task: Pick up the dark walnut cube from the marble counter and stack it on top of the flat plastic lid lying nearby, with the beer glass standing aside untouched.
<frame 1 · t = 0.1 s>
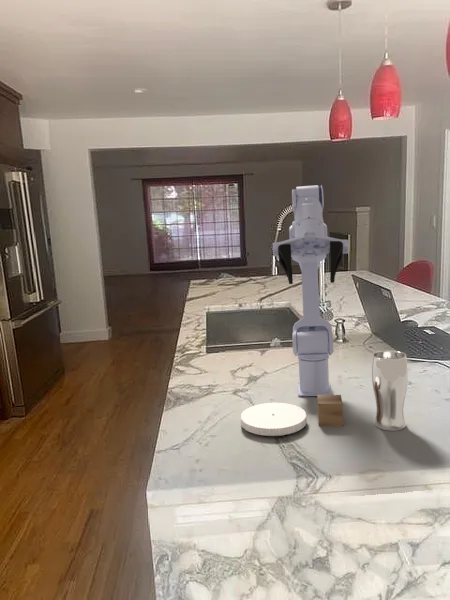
hand: (311, 279, 92), 32 cm above the countertop, tool tilted 50°, fingers open, 7 cm apart
walnut cube: (330, 421, 107), on the countertop
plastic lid: (273, 426, 107), on the countertop
beer glass: (390, 425, 103), on the countertop
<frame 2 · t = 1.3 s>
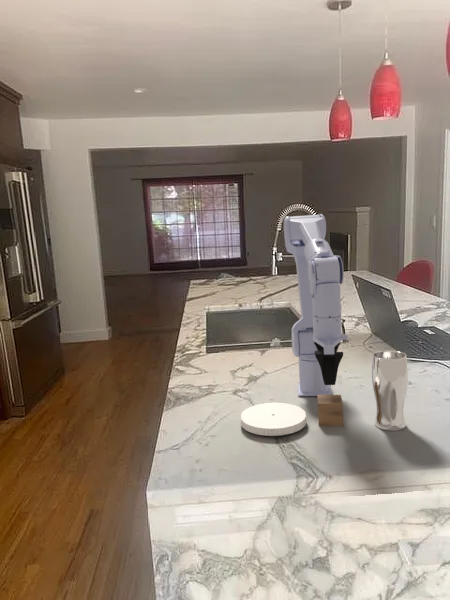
hand: (328, 378, 105), 9 cm above the countertop, tool pointing down, fingers open, 7 cm apart
nothing on the countertop moved.
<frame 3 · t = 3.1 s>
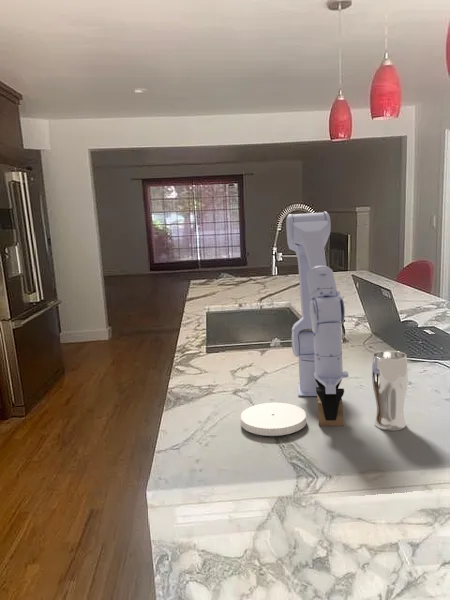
hand: (330, 414, 106), 1 cm above the countertop, tool pointing down, fingers closed on walnut cube, 5 cm apart
walnut cube: (330, 420, 107), on the countertop, touching gripper
everything else where it was.
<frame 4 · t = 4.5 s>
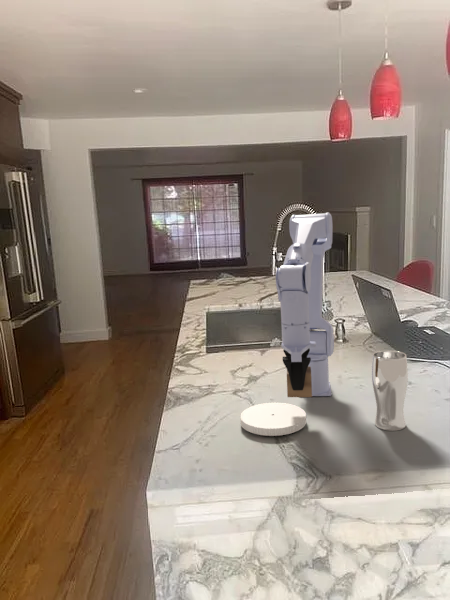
hand: (297, 385, 105), 8 cm above the countertop, tool pointing down, fingers closed on walnut cube, 5 cm apart
walnut cube: (299, 392, 105), point 7 cm above the countertop, touching gripper
everything else where it was.
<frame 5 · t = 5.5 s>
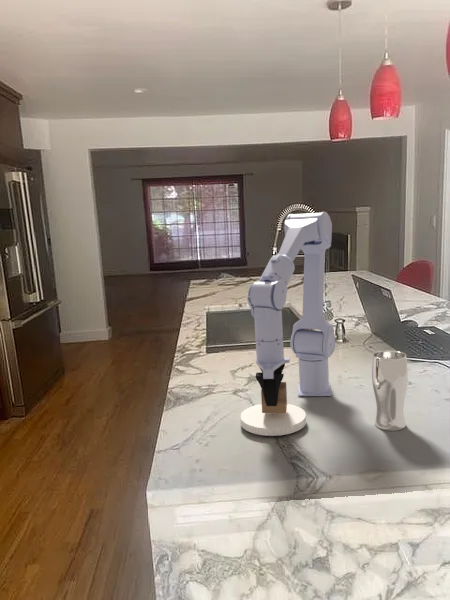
hand: (272, 400, 106), 5 cm above the countertop, tool pointing down, fingers closed on walnut cube, 5 cm apart
walnut cube: (274, 408, 106), point 4 cm above the countertop, touching gripper
everything else where it was.
when the fingers open (5 cm above the countertop, at t = 6.3 s): walnut cube drops 1 cm, resting on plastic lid.
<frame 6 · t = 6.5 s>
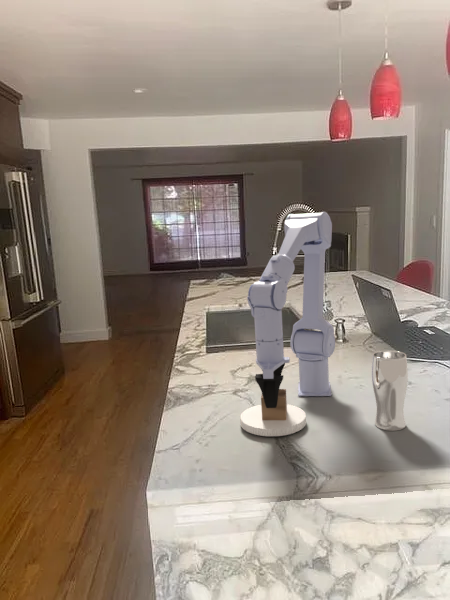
hand: (272, 400, 106), 5 cm above the countertop, tool pointing down, fingers open, 7 cm apart
walnut cube: (274, 415, 106), point 2 cm above the countertop, touching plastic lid
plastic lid: (273, 427, 107), on the countertop, touching walnut cube
everything else where it was.
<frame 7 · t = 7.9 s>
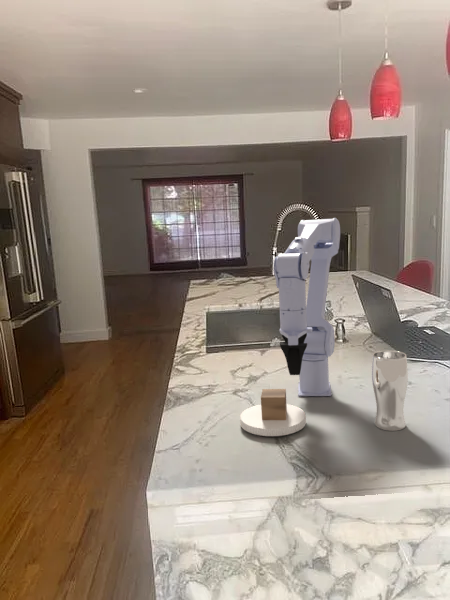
hand: (295, 369, 110), 10 cm above the countertop, tool pointing down, fingers open, 7 cm apart
nothing on the countertop moved.
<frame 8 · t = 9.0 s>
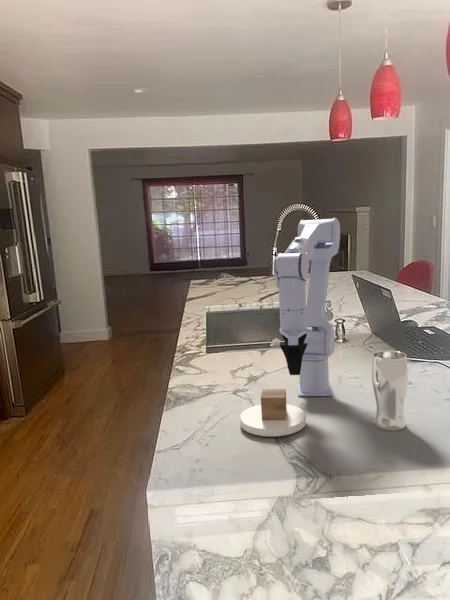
hand: (295, 369, 110), 10 cm above the countertop, tool pointing down, fingers open, 7 cm apart
nothing on the countertop moved.
at the end: walnut cube 0.5 cm from the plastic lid (horizontally); walnut cube point 2.1 cm above the countertop; walnut cube tilted 0° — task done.
